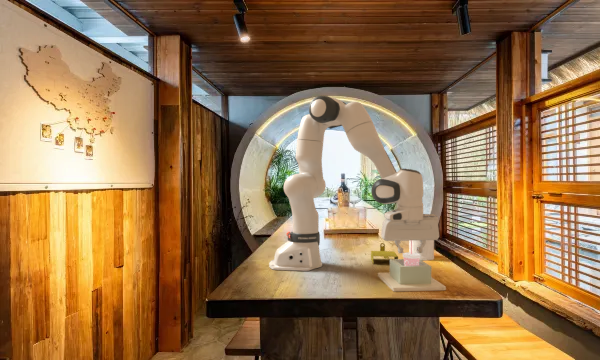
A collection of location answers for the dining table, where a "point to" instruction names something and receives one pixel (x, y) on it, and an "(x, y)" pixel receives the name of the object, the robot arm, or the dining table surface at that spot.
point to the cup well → (410, 277)
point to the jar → (427, 249)
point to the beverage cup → (411, 258)
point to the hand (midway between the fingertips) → (410, 252)
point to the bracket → (383, 253)
